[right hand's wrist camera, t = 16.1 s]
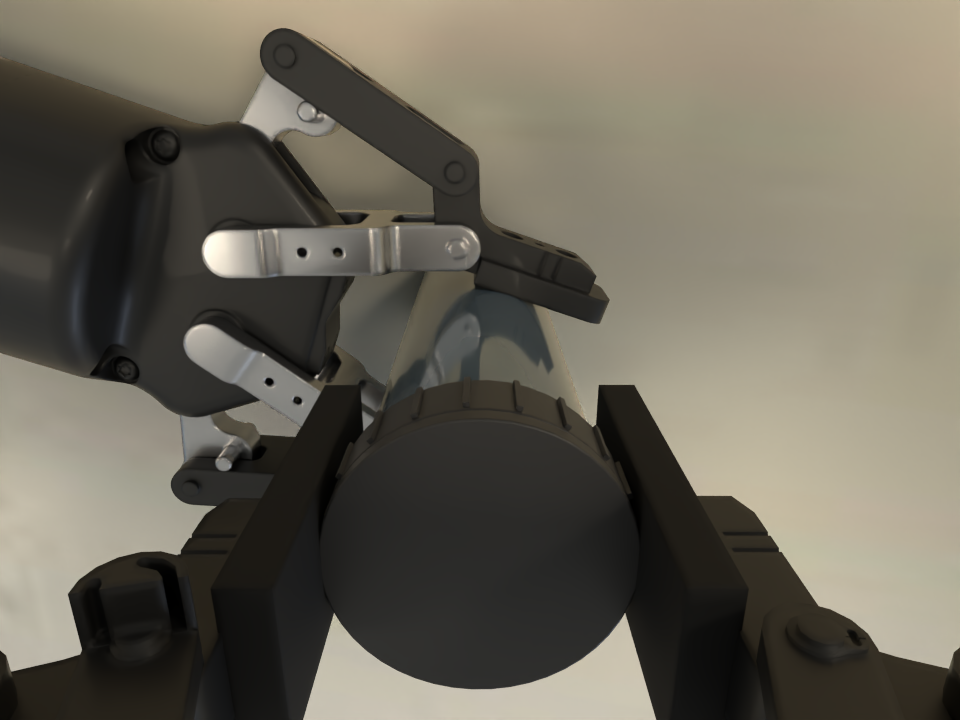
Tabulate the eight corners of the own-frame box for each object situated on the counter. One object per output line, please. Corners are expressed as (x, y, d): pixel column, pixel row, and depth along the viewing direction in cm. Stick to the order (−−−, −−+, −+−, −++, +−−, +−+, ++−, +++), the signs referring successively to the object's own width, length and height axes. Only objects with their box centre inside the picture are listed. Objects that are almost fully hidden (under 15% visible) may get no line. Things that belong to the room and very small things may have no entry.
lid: (461, 313, 11) (458, 345, 9) (685, 496, 12) (714, 550, 11) (277, 524, 12) (249, 581, 11) (494, 670, 14) (495, 739, 12)
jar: (560, 323, 26) (662, 590, 12) (455, 375, 27) (426, 688, 12) (506, 216, 25) (543, 367, 10) (397, 274, 26) (285, 493, 11)
